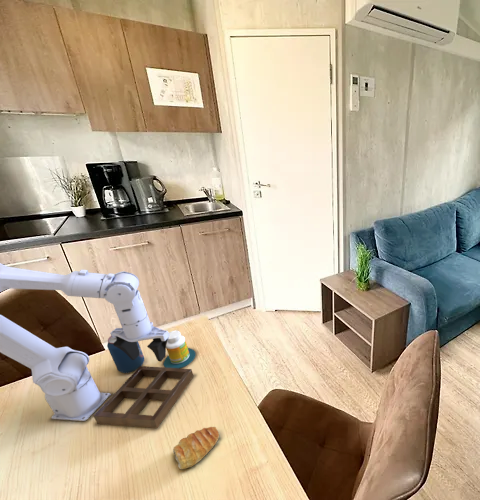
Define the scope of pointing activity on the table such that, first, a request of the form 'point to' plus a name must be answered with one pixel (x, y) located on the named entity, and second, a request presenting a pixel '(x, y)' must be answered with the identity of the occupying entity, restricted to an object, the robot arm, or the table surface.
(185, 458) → the pastry
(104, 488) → the table surface
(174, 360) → the supplement bottle
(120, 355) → the soda can
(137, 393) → the rack
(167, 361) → the coaster
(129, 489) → the table surface
